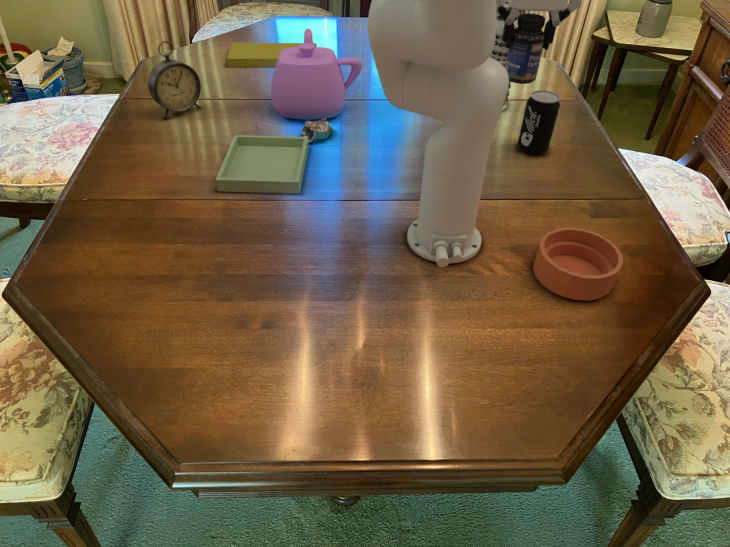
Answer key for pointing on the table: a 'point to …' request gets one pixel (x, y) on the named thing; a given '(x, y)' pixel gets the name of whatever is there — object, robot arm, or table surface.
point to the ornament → (317, 130)
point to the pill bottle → (525, 49)
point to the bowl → (577, 263)
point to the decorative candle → (499, 46)
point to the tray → (263, 164)
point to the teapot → (310, 81)
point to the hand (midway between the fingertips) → (525, 45)
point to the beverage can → (538, 122)
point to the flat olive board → (256, 54)
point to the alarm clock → (174, 84)
